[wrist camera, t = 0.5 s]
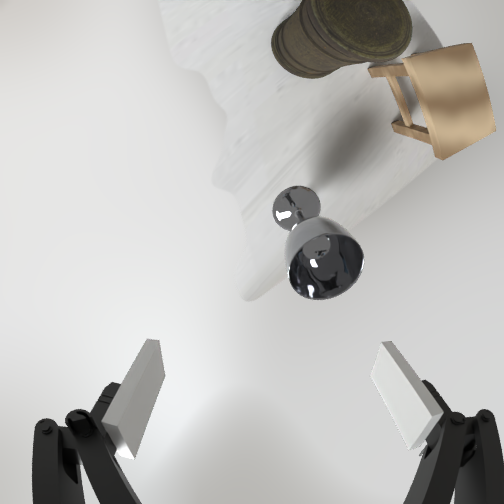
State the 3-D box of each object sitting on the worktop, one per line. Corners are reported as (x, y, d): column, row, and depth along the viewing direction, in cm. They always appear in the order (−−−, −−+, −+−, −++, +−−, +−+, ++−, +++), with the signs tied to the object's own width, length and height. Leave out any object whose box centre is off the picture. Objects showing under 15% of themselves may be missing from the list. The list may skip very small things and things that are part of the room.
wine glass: (274, 238, 41) (293, 307, 28) (264, 189, 37) (282, 244, 24) (325, 227, 41) (362, 290, 28) (320, 178, 36) (365, 226, 24)
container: (329, 87, 30) (407, 86, 14) (262, 67, 28) (292, 35, 13) (344, 33, 25) (424, 1, 10) (279, 10, 23) (319, -52, 8)
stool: (359, 65, 28) (409, 57, 17) (418, 47, 25) (471, 43, 15) (391, 139, 33) (442, 160, 23) (443, 115, 31) (496, 130, 21)
